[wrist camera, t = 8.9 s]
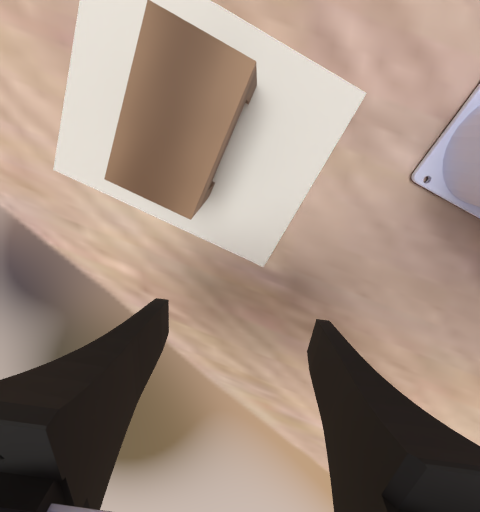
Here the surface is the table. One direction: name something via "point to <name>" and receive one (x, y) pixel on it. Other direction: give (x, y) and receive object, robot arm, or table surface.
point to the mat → (242, 139)
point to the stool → (178, 112)
